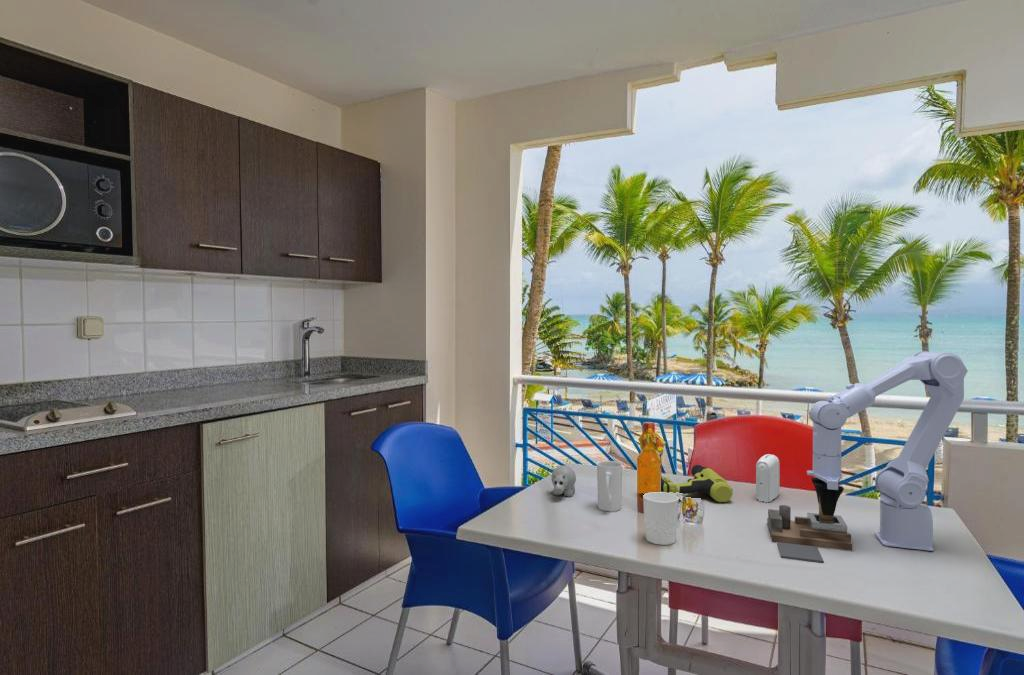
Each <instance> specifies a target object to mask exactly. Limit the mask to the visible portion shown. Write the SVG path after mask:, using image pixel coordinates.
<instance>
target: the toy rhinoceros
mask: <svg viewBox="0 0 1024 675" xmlns="http://www.w3.org/2000/svg"><path fill="white" fill-rule="evenodd" d="M550 477H551V478H550V479H551V480H550V481H551V483H552V486H553V490H552V493H553V495H554V496H562V494H564V497H566V496H567V498H568V497H572V496H573V495H574V493H575V492H576V487H575V485H576V481H577V476H576V473H575V471H574V469H572V467H570V466H567V465H559V466H557V467H556V468H554V469H553V471H552V472H551V476H550Z"/></svg>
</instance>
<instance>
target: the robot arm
mask: <svg viewBox="0 0 1024 675" xmlns="http://www.w3.org/2000/svg"><path fill="white" fill-rule="evenodd" d="M965 365H966V364H964V362H963V360H962V358H961V357H960V356H958V355H956V354H955V353H952V352H934V351H932V352H931V351H929V350H921V351H918V352H916V353H915V354H913V355H910V356H907V357H905V358H904V359H903V360H902V361H900V362H899V363H897V364H895V365H894V366H892V367H891V368H888V370H886V371H885V372H883V373H881V374H879V375H877V377H875V378H873V379H871V380H870V381H868V382H867V383H865V384H863V383H860V382H855V383H854V384H853V383H848V384H846V385H845V389H843V390H841V391H839V392H837V393H835V394H834V395H831V394H830V395H829V396H827V397H826V400H819V401H817V402H815V403H813V404H812V406H811V408H810V410H809V411H808V412H807V413H808V416H809V419H810V420H811V421H812V428H813V429H812V470H810V469H809V470H806V474H807V475H808V476H813V477H811V478H810V480H811V482H812V483H813V486H814V489H815V492H816V497H817V502H818V505H819V498H820V503H821V510H822V513H823V515H829V516H833V515H835V513H836V512H835V511H836V508H837V505H838V504H837V503H838V500H839V498H840V496H841V494H842V493H843V492H844V489H845V488H844V486H842V485H839V484H840V481H841V480H842V479H843V474H842V427H844V425H846V422H847V420H848V419H849V418H852V417H853V416H855V415H856V414H859V413H861V412H862V411H864V410H866V409H867V408H869V407H872V406H873V405H874V404H875V401H876V397H878V396H880V395H882V394H884V393H885V392H888V391H890V390H891V389H895V388H896V387H898V386H900V385H902V384H905V383H906V382H908V381H911V380H912V381H913V380H915V381H918V380H919V381H920V382H921V383H922V384H923V385H924V386H925V388H926V389H927V391H928V393H929V395H930V397H929V399H928V401H927V403H926V405H925V407H923V408H924V409H923V411H922V412H921V414H920V416H919V418H918V420H917V422H916V424H915V425H914V427H913V430H911V432H910V435H909V436H908V438H907V440H906V441H905V444H904V445H903V448H902V449H901V451H900V453H899V455H898V456H897V457H896V458H894V459H892V460H891V461H889V462H888V463H887V465H886V466H885V468H883V469H882V470H880V471H879V472H878V473H877V474H876V476H875V478H874V485H875V488H876V490H877V491H878V492H879V493H880V498H879V500H880V501H879V531H874V532H873V533H874V535H875V536H876V538H877V539H878V540H879V542H880V543H881V544H882V546H885V547H893V548H903V549H910V550H911V549H912V550H918V551H919V550H921V551H929V552H930V551H931V552H934V551H935V550H934V544H933V543H934V539H933V538H934V520H933V513H932V510H931V508H930V507H929V506H927V505H925V504H924V505H923V502H924V500H925V499H926V495H927V494H926V493H927V492H926V488H927V485H928V483H929V481H930V480H929V477H928V474H927V470H926V469H927V467H928V465H929V464H930V462H931V460H932V458H933V456H934V454H935V452H936V451H937V449H938V447H939V445H940V444H941V441H942V440H943V438H944V436H945V435H946V433H947V431H948V429H949V427H950V425H951V424H952V421H953V420H954V418H955V416H956V414H957V413H958V410H959V409H960V407H961V405H962V403H963V401H964V398H965V377H966V375H967V373H968V369H967V367H966V366H965Z"/></svg>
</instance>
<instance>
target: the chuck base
mask: <svg viewBox="0 0 1024 675" xmlns="http://www.w3.org/2000/svg"><path fill="white" fill-rule="evenodd" d="M778 506H779V507H778V509H772V508H771V509H767V514H768V515H767V519H766V520H767V521H766V522H767V523H766V524H767V529H768V532H769V536H770V539H771V542H773V543H777V542H781V543H790V544H798V545H807V546H816V547H817V548H825V549H832V550H833V549H834V550H840V551H841V550H843V551H849V552H850V551H851V552H853V543H852V534H851V533H848V532H847V533H838V532H829V531H820V530H810V529H809V528H808V526H807V516H806V517H804V516H797V515H796V516H794V520H791V515H792V514H791V510H792V509H791V506H789V505H786V504H780V505H778Z"/></svg>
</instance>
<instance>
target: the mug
mask: <svg viewBox="0 0 1024 675" xmlns="http://www.w3.org/2000/svg"><path fill="white" fill-rule="evenodd" d="M596 480H597V481H596V482H597V485H596V486H597V508H598V510H601V511H604V512H618V511H620V510H621V509H622V500H623V499H622V497H623V496H622V494H623V463H621V462H619V461H614V460H603V461H598V462H597V463H596Z"/></svg>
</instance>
